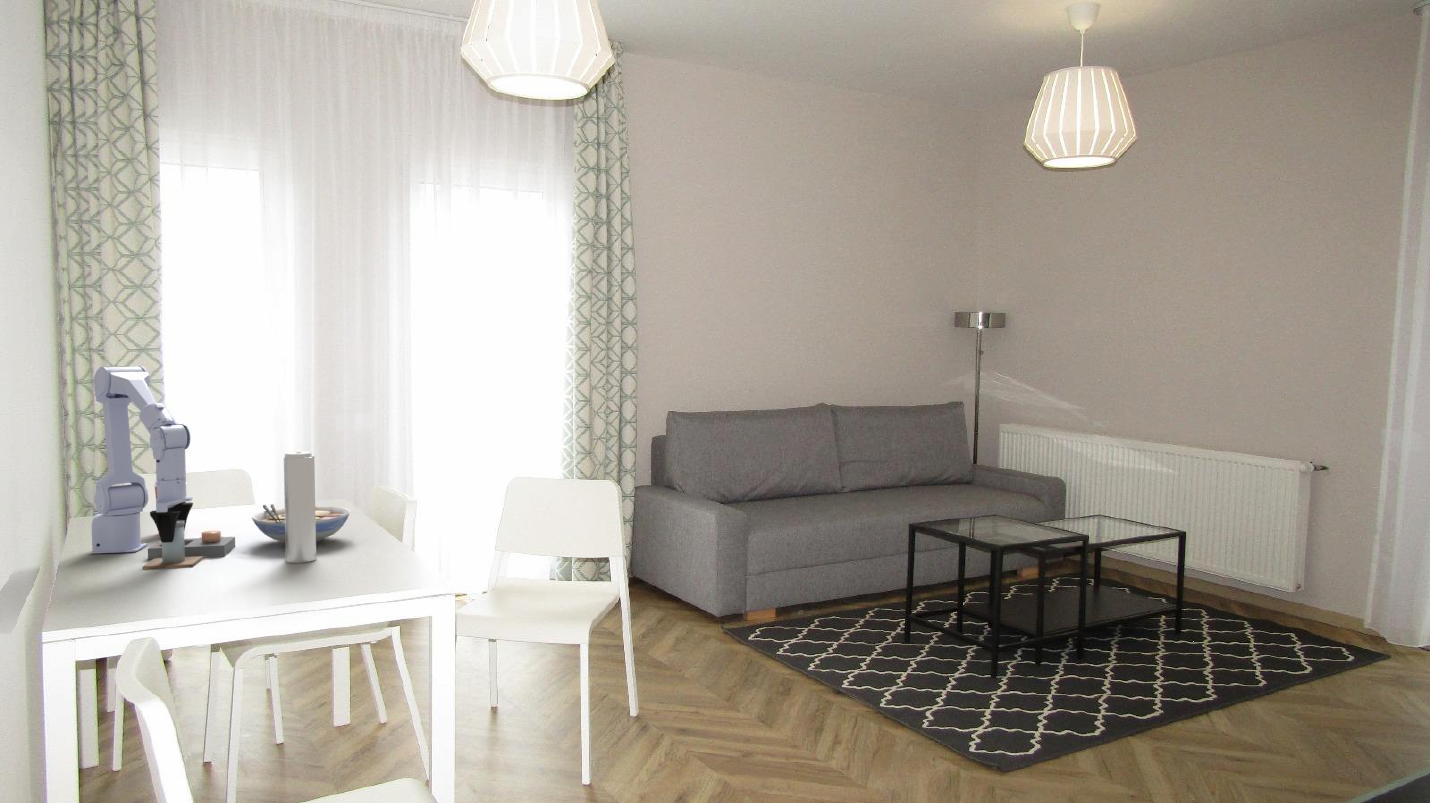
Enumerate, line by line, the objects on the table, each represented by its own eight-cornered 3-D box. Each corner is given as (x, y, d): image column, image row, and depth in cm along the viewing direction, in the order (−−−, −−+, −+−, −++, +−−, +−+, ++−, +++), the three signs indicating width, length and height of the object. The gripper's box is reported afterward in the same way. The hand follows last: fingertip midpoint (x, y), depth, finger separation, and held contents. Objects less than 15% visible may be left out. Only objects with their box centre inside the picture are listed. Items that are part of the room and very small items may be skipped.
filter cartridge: (158, 563, 207) (157, 523, 206) (165, 559, 211) (164, 520, 211) (181, 562, 208) (180, 523, 207) (188, 558, 212) (187, 519, 212)
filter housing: (148, 559, 214) (147, 548, 213) (162, 549, 223) (162, 539, 223) (224, 555, 218) (224, 545, 217) (235, 546, 227) (235, 536, 227)
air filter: (304, 564, 210) (302, 454, 209) (279, 562, 212) (277, 453, 210) (322, 557, 217) (320, 451, 215) (297, 556, 218) (295, 450, 216)
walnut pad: (142, 569, 204) (142, 566, 204) (154, 560, 212) (154, 558, 212) (192, 566, 207) (192, 564, 207) (203, 558, 215) (203, 556, 215)
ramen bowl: (359, 547, 228) (358, 514, 227) (255, 557, 216) (254, 522, 216) (344, 529, 249) (343, 499, 249) (249, 537, 238) (248, 506, 238)
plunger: (199, 542, 219) (199, 534, 219) (204, 539, 223) (204, 530, 223) (218, 541, 220) (218, 533, 220) (222, 538, 224) (222, 530, 224)
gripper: (180, 482, 202) (182, 544, 203) (200, 473, 216) (201, 531, 217) (144, 483, 201) (146, 546, 201) (166, 474, 215) (168, 532, 215)
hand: (172, 538), depth 209 cm, fingers open, 7 cm apart
